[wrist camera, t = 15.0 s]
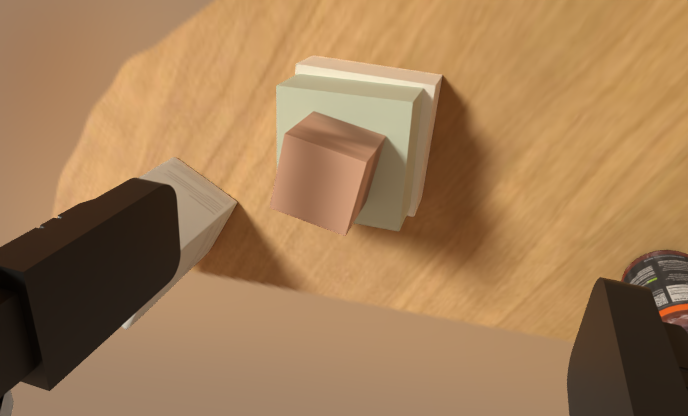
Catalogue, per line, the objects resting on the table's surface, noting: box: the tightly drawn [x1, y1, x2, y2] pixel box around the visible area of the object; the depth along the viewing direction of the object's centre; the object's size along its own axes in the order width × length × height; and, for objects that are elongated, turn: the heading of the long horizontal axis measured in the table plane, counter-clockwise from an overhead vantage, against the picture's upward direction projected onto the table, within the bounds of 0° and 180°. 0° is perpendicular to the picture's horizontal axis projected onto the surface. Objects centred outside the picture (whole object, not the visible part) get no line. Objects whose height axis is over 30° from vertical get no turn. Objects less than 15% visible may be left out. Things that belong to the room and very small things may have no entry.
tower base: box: [295, 55, 442, 217], centre depth 41 cm, size 10×10×4 cm
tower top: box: [276, 73, 423, 231], centre depth 38 cm, size 9×9×4 cm
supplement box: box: [122, 157, 237, 329], centre depth 46 cm, size 7×7×13 cm
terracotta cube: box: [270, 111, 386, 236], centre depth 34 cm, size 5×5×5 cm
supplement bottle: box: [621, 250, 688, 332], centre depth 36 cm, size 6×6×11 cm
